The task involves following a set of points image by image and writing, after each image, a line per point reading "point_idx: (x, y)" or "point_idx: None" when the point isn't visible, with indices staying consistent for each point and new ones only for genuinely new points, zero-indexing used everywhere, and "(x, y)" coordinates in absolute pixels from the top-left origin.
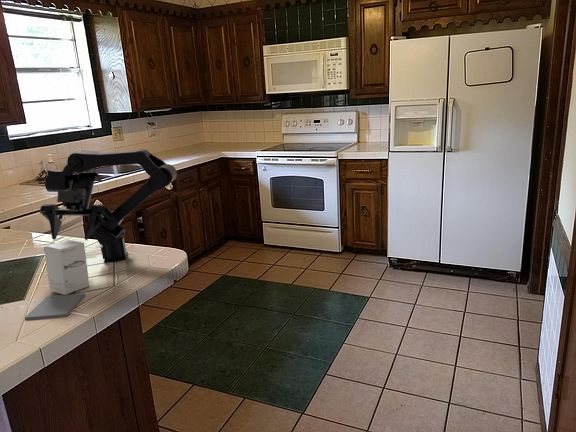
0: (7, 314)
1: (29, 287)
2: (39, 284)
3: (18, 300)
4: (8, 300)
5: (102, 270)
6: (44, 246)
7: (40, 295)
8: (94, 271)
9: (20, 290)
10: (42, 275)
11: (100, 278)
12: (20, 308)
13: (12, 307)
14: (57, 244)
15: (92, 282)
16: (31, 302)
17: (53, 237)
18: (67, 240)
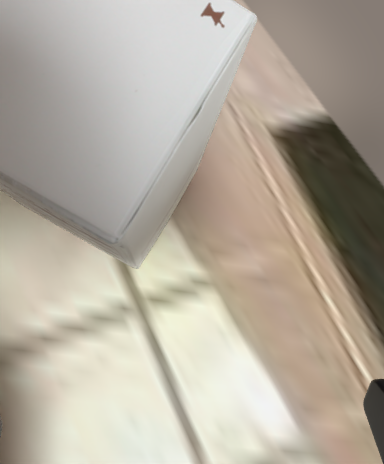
0: (258, 33)
1: (330, 246)
2: (304, 273)
3: (292, 130)
4: (333, 138)
5: (34, 426)
6: (245, 8)
7: (227, 158)
8: (82, 415)
9: (349, 221)
10: (360, 385)
11: (3, 304)
12: (239, 65)
13: (276, 79)
14: (133, 30)
15: (32, 257)
16: (227, 103)
17: (378, 383)
18: (119, 216)
